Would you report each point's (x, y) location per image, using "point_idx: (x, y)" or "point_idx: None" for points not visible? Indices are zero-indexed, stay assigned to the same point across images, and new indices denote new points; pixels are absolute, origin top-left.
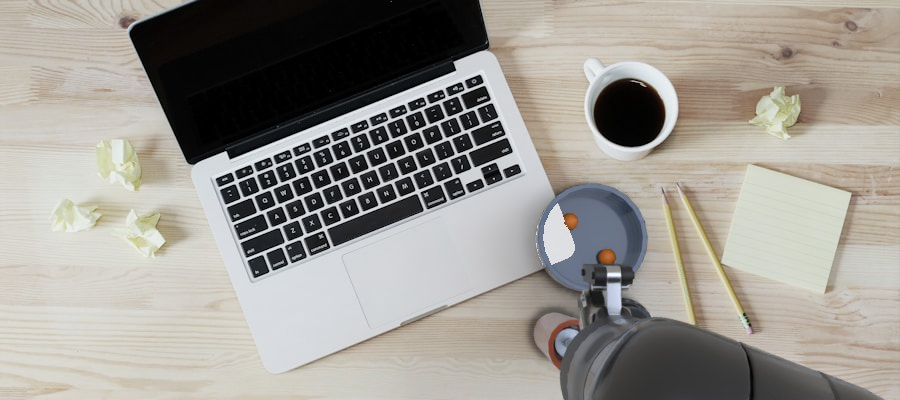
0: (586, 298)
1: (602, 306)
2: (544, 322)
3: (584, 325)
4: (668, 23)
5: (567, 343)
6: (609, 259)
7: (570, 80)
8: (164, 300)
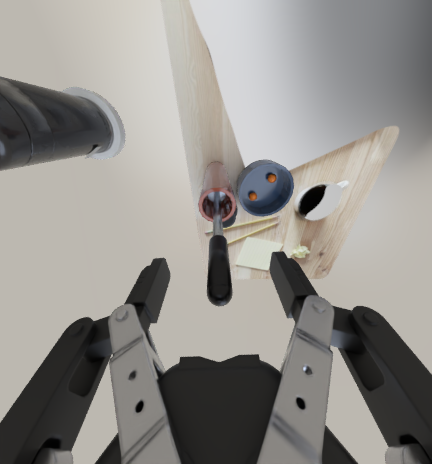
0: (331, 332)
1: (292, 310)
2: (224, 171)
3: (323, 413)
4: (350, 216)
5: (218, 196)
6: (252, 198)
7: (341, 174)
8: None
